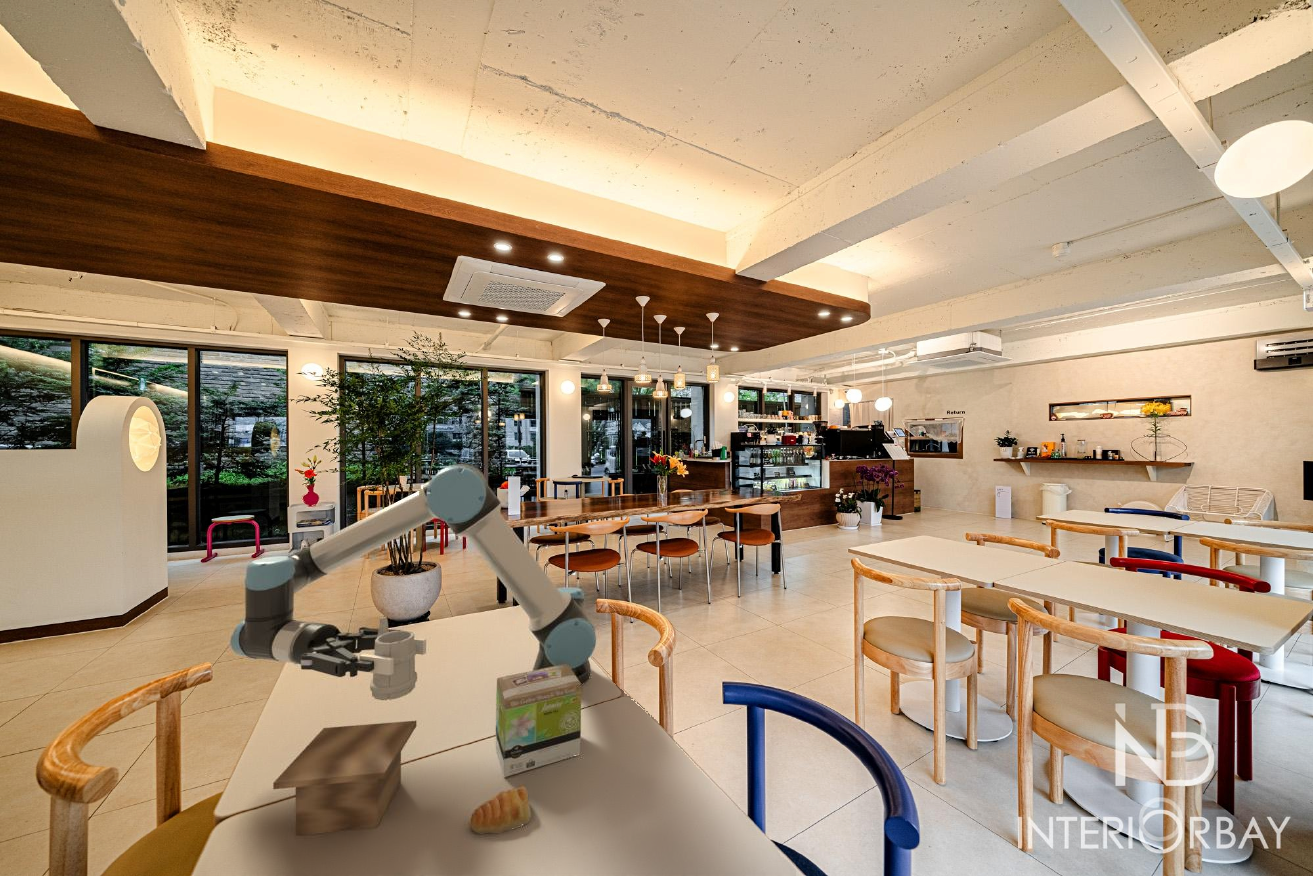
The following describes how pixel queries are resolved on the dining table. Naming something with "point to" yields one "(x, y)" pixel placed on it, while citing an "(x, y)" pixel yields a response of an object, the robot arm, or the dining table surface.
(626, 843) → the dining table surface
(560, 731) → the tea box
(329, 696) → the dining table surface
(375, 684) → the mug
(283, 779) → the walnut stand
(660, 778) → the dining table surface
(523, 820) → the pastry
